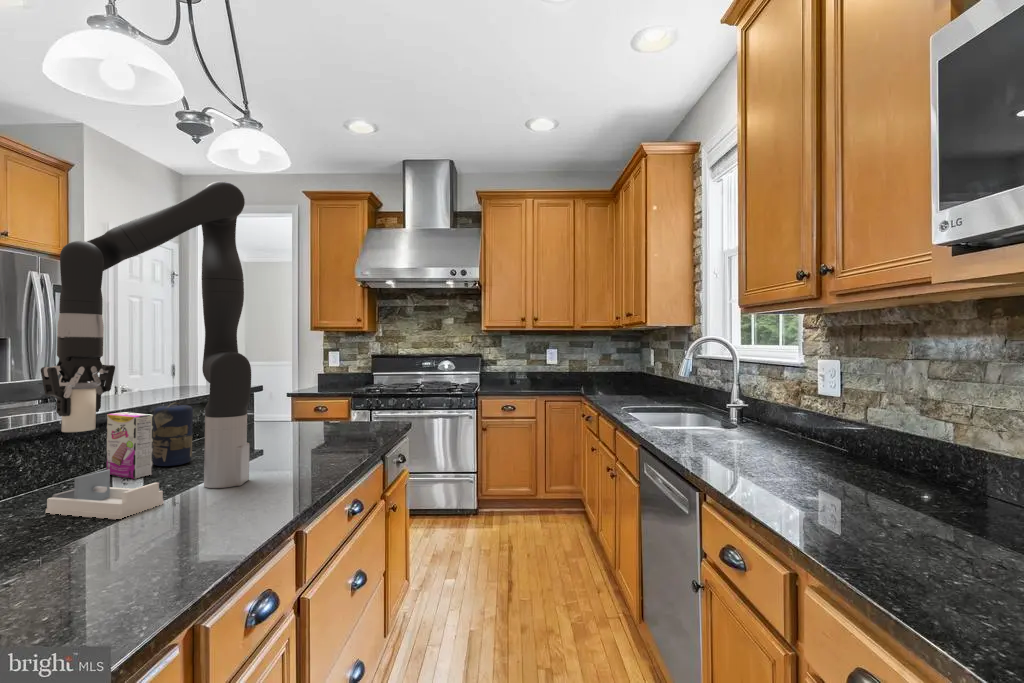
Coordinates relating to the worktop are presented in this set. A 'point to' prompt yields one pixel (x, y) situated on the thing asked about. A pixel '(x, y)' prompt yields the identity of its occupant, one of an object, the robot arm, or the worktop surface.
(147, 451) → the candy bar box
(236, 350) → the robot arm
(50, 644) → the worktop surface
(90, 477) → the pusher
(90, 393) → the jar
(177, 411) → the canister
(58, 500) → the cream shallow rectangular tray
